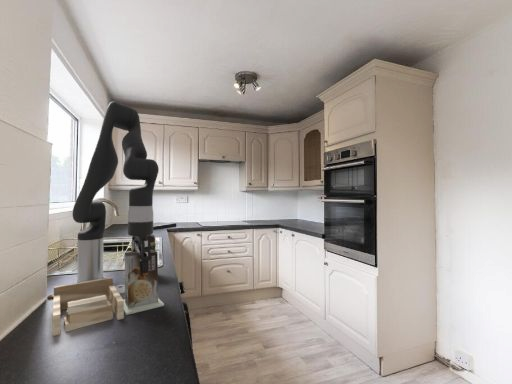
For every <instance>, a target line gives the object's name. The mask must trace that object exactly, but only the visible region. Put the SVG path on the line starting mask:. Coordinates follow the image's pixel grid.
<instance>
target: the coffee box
mask: <svg viewBox="0 0 512 384" xmlns="http://www.w3.org/2000/svg"><path fill="white" fill-rule="evenodd" d="M150 252H151V259H150V260H149V261H148V273H145V274H141V273H140V259H139V256H138V255H137V251H134V252H132V251H129V252H124V285H125V292H124V299H125V303H126V305H127V307H128V308H132V307H136V306H141V305H145V304H150V303H154V302H158V298H159V272H158V271H159V269H158V268H159V267H158V266H159V264H158V251H156V249H155V250H150ZM144 256H146V255H144Z"/></svg>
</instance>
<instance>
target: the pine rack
mask: <svg viewBox="0 0 512 384" xmlns="http://www.w3.org/2000/svg"><path fill="white" fill-rule="evenodd" d="M115 286H116V285H114V277H113V276H110V277H105V278H104V277H103V279H97V280H91V281H85V282H79V283H78V282H74V283H67V284H62V285H61V284H60V285H56V286H53V295H54V299H53V303H52V305H53V307H52V337H55V336H60V335H61V311H62V310H66V309H68V302H71V301H76V300H81V299H87V298H92V297H97V296H102V295H105V296H106V298H107V301H108V302H110V303H111V304H112V312H113V314H114V316H115V318H116V319H117V320H118V321H119V320H123V319H124V318H125V316H124V315H125V312H124V300H123V297H122V296H121V293H118V291H117V290H116V288H115Z"/></svg>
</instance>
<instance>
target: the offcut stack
mask: <svg viewBox="0 0 512 384" xmlns="http://www.w3.org/2000/svg"><path fill="white" fill-rule="evenodd" d="M65 311H66V313H65V315H66V316H65V317H63V328H64V331H65V332H69V331H73V330H76V329H79V328H83V327H84V328H85V327H88V326H91V325H94V324H98V323H102V322H105V321H110V320H113V319H114V311H113V309H112V304H111V303H110V302H109V301H108V300H107V298H106V296H105V295H102V296H97V297H92V298H87V299H81V300H76V301H71V302H68V308H67V310H65Z"/></svg>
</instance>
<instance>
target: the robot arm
mask: <svg viewBox="0 0 512 384" xmlns="http://www.w3.org/2000/svg"><path fill="white" fill-rule="evenodd" d="M140 120H141V119H140V115H139V113H138V110H136V109H135V108H133V107H130V106H127V105H125V104H123V103H120V102H117V101H110V102H109V104H108V105H107V107H106V108H105V112H104V117H103V120H102V124H101V129H100V133H99V137H98V140H97V143H96V146H95V149H94V152H93V155H92V157H91V159H90V163H89V166H88V169H87V173H86V175H85V178H84V182H83V185H82V187H81V189H80V192H79V193H78V196H77V198H76V200H75V203H74V205H73V207H72V218H73V221H74V222H75V223H78V224H89V225H88V226H87V228H85V229H83V230H81V231H79V232H78V233H77V262H76V263H77V271H76V272H77V273H76V274H77V275H76V277H77V279H76V280H77V282H76V283H79V282H85V281H91V280H97V279H104V234H105V232H106V218H107V209H106V208H107V207H106V205H105V203H104V202H103V201H102V200H98V199H97V200H94V198H95V197H96V195H97V193H99V192H100V191H101V189H103V188H104V186H106V185H107V184H108V183H109V182H110V181H111V180H112V179H113V178H114V175H115V172H116V171H117V168H118V164H119V157H118V154H117V150H116V148H115V145H114V142H113V130H114V128H117V129H120V130H122V131H128V132H126V134H125V135H124V137H123V138H122V140H121V147H122V151H123V154H124V162H123V167H122V173H123V176H124V177H125V178H126V179H128V180H131V181H132V180H133V181H144V183H143V185H142V186H137V187H132V188H131V189H129V191H128V192H129V193H128V211H127V235H128V236H130V237H131V252H134V251H137V255H138V256H139V259H140V273H141V274H145V273H148V261H149V260H150V259H151V252H150V243H151V241H150V240H147V235H151V234H152V235H154V209H153V207H154V206H153V202H154V201H153V196H154V189H155V185H156V182H157V179H158V174H159V164H158V163H157V162H156V161H155V159H151V158H147V157H148V151H147V149H146V147H145V144H144V142H143V138H142V129H141V121H140ZM144 255H146V256H144Z"/></svg>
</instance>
